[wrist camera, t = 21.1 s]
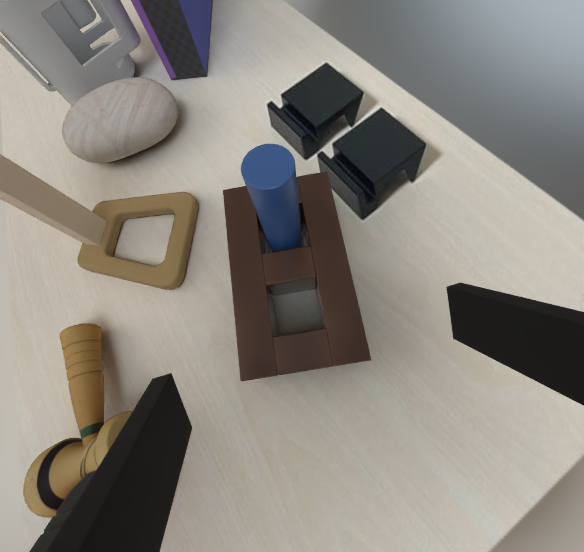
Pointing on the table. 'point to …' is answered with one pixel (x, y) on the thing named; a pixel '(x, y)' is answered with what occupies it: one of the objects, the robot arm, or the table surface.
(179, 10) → the cereal box
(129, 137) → the decorative stone
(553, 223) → the table surface
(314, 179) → the rack
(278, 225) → the peg
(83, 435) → the kendama
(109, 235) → the headphone stand
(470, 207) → the table surface
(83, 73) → the cable organizer
